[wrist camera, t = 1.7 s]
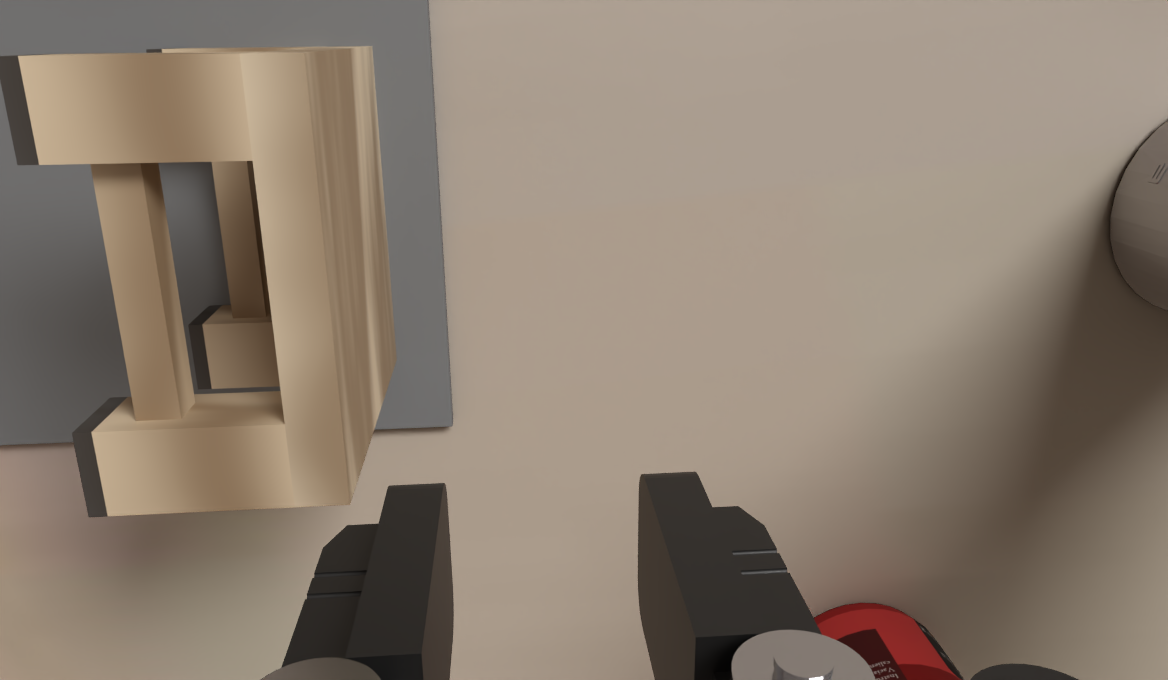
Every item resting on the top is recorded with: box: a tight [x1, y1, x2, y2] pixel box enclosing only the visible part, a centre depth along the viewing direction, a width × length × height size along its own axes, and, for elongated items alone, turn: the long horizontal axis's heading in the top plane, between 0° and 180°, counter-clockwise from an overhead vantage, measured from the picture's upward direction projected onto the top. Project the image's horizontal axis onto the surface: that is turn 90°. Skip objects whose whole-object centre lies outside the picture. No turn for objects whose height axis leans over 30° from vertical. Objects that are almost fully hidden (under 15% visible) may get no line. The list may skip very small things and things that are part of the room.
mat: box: [0, 0, 453, 445], centre depth 35 cm, size 23×18×1 cm
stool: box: [0, 46, 397, 517], centre depth 29 cm, size 7×12×12 cm, turn 1°
